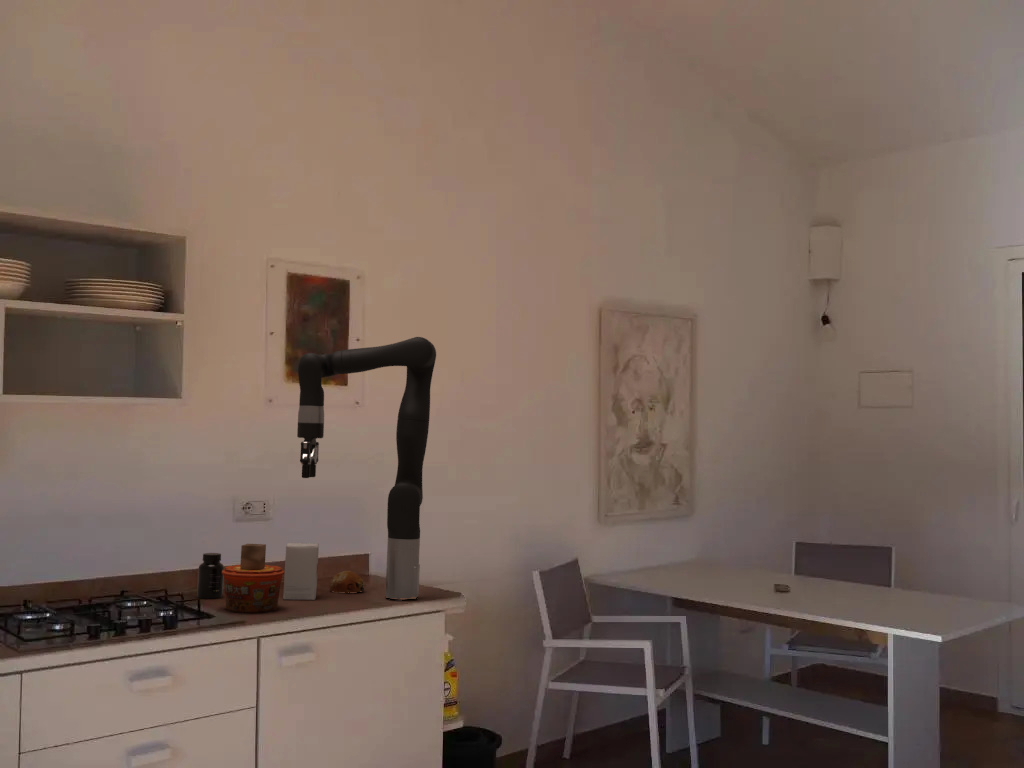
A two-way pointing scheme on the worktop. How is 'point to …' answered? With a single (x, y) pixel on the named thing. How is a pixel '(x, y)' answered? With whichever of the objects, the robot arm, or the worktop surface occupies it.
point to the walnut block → (253, 556)
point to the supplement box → (301, 571)
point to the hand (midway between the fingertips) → (308, 477)
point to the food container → (252, 588)
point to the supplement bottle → (210, 577)
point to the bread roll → (346, 582)
